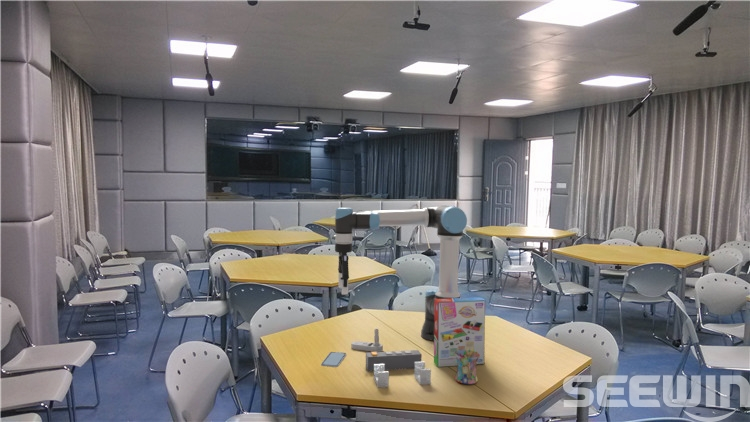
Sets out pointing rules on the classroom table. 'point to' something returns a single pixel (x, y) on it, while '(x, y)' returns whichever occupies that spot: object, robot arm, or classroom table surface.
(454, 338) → the game box
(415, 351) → the power strip
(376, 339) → the electronic device
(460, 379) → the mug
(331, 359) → the smartphone
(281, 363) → the classroom table surface
